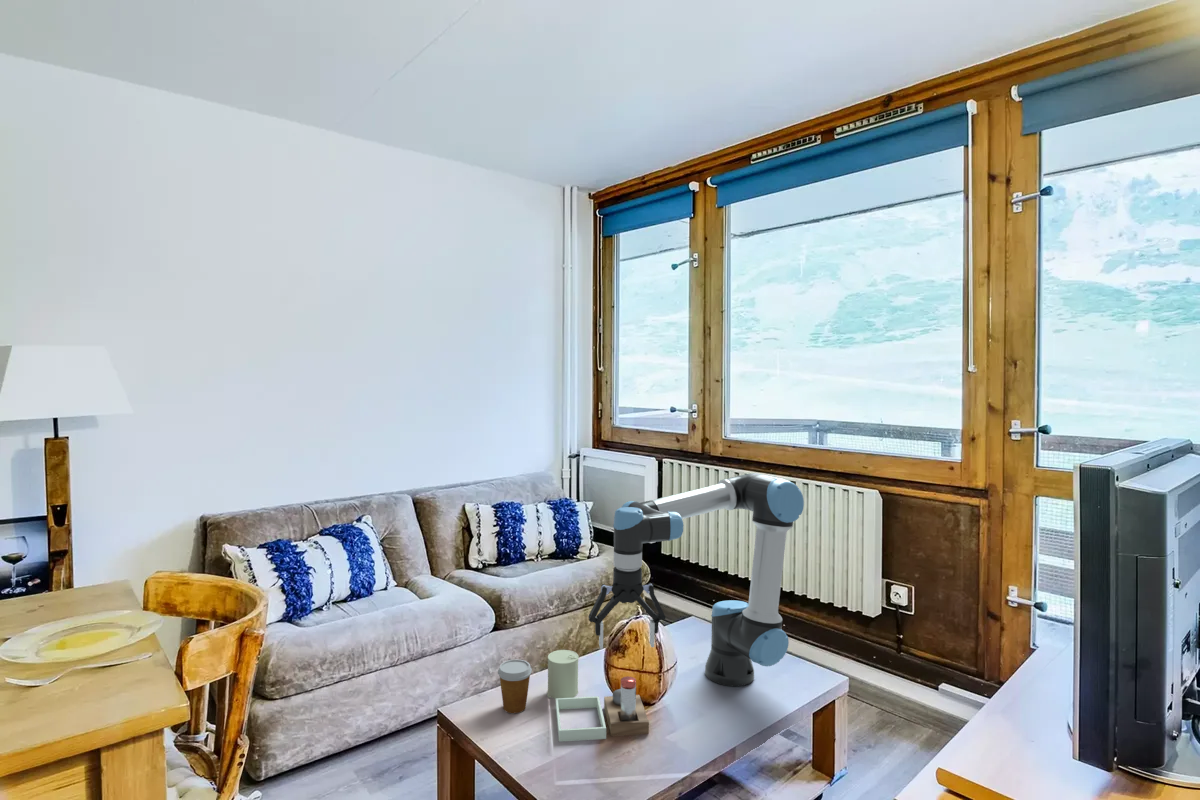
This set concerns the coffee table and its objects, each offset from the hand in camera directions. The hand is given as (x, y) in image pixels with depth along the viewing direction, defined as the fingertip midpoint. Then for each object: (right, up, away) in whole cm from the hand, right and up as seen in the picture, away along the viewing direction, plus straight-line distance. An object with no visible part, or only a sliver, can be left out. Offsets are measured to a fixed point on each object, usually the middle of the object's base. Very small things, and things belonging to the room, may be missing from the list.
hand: (626, 646), depth 171 cm
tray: (-13, -23, +3) cm, 26 cm away
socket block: (0, -23, +4) cm, 23 cm away
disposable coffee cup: (-31, -22, +12) cm, 40 cm away
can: (-18, -22, +19) cm, 34 cm away
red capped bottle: (0, -22, +1) cm, 22 cm away
